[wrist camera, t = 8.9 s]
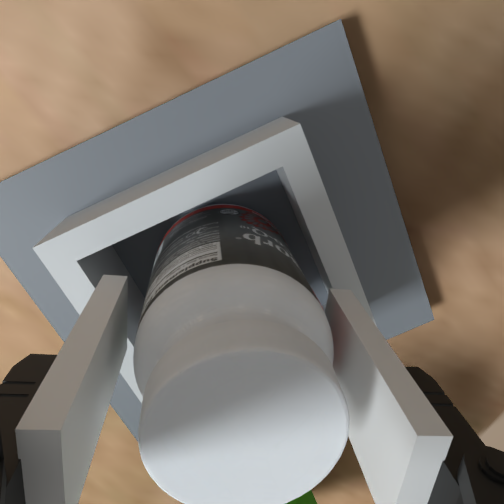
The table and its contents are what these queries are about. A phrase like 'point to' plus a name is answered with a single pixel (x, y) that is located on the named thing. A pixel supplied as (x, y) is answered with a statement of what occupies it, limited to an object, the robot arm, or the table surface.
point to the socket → (222, 194)
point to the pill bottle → (235, 366)
